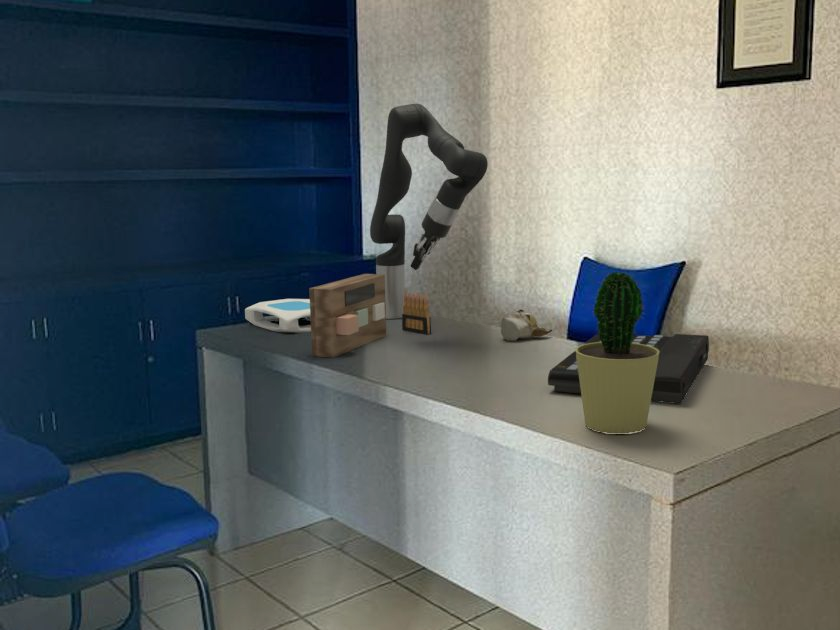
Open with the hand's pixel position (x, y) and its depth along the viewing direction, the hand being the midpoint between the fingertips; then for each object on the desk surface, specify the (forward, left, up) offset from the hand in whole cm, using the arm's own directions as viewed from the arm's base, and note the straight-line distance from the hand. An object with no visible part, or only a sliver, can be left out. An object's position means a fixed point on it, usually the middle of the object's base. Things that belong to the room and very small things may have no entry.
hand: (414, 267), depth 239 cm
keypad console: (+17, -7, -21) cm, 27 cm away
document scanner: (+15, -47, -21) cm, 53 cm away
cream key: (+8, -11, -15) cm, 20 cm away
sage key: (+16, -6, -15) cm, 23 cm away
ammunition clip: (-7, -11, -21) cm, 25 cm away
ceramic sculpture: (-25, +16, -21) cm, 37 cm away
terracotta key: (+24, +1, -15) cm, 28 cm away
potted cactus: (+15, +88, -21) cm, 92 cm away
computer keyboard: (-18, +64, -22) cm, 70 cm away
